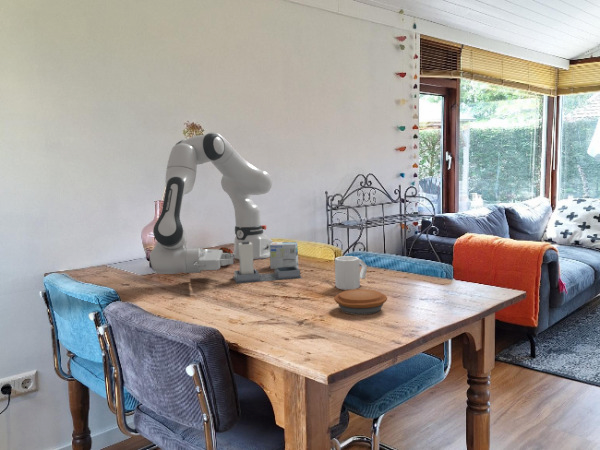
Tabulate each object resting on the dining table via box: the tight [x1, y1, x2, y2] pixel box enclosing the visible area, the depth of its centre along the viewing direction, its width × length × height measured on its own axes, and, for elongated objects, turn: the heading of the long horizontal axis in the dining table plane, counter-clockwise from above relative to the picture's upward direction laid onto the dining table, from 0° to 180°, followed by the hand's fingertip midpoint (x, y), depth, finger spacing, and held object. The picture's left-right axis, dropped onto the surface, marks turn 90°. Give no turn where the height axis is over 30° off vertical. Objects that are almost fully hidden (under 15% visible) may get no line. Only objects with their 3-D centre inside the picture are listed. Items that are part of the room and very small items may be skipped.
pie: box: [333, 288, 388, 315], centre depth 165 cm, size 15×16×5 cm
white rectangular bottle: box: [238, 241, 255, 275], centre depth 204 cm, size 4×4×14 cm
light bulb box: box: [269, 241, 299, 270], centre depth 224 cm, size 11×7×11 cm, turn 84°
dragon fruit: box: [218, 246, 235, 267], centre depth 236 cm, size 8×8×12 cm
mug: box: [334, 255, 368, 291], centre depth 194 cm, size 12×9×10 cm
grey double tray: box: [232, 266, 303, 285], centre depth 207 cm, size 24×12×4 cm, turn 103°
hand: (234, 258), depth 204 cm, fingers open, 8 cm apart
